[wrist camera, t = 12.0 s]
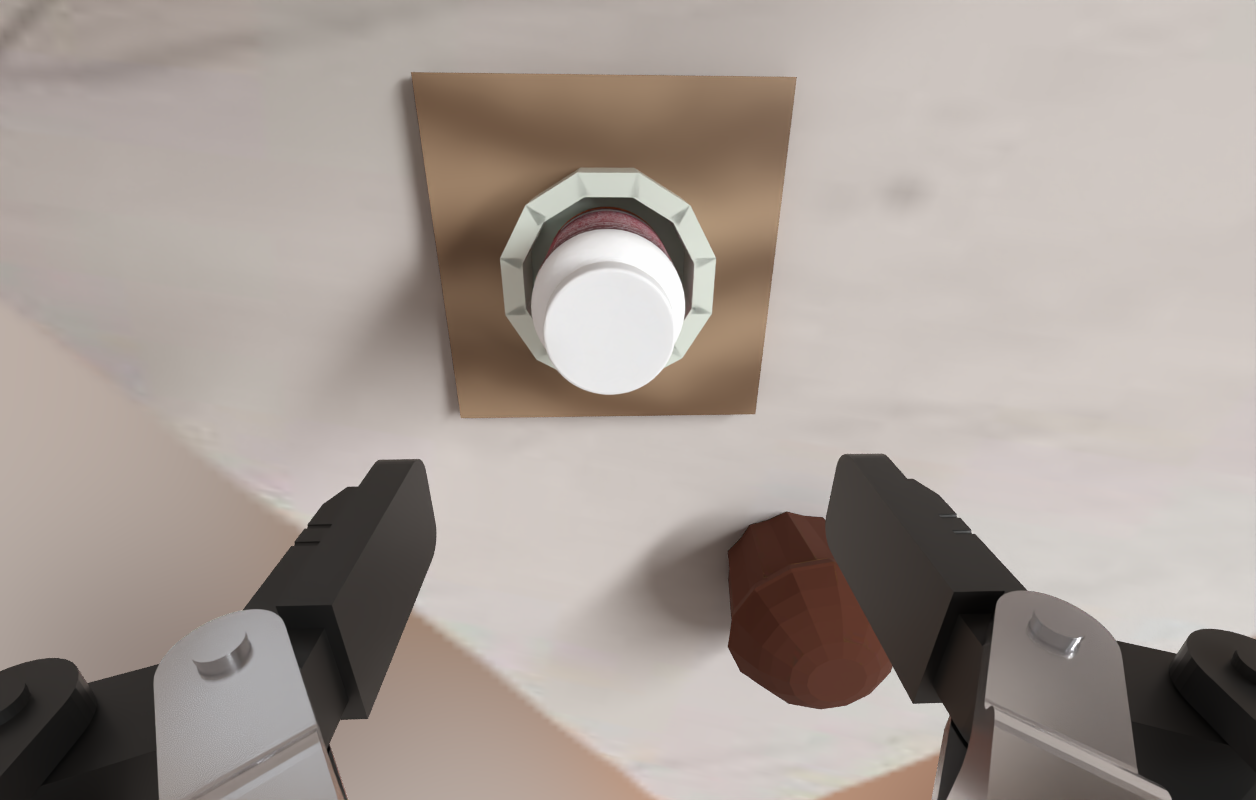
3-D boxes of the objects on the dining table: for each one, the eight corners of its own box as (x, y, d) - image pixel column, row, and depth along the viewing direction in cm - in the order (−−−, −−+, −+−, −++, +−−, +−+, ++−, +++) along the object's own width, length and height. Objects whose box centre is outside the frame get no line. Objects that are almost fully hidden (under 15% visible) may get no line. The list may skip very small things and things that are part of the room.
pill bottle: (527, 234, 28) (485, 287, 18) (638, 183, 27) (658, 210, 17) (579, 339, 31) (567, 436, 21) (682, 296, 30) (721, 375, 20)
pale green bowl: (506, 167, 27) (491, 171, 23) (707, 168, 27) (722, 173, 24) (522, 355, 31) (511, 384, 28) (694, 354, 32) (706, 382, 28)
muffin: (687, 528, 39) (713, 646, 30) (837, 473, 37) (912, 580, 28) (739, 634, 44) (775, 763, 35) (874, 589, 42) (947, 711, 33)
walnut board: (418, 74, 26) (411, 72, 25) (788, 79, 27) (796, 77, 26) (465, 409, 34) (460, 418, 33) (750, 405, 35) (755, 414, 34)
